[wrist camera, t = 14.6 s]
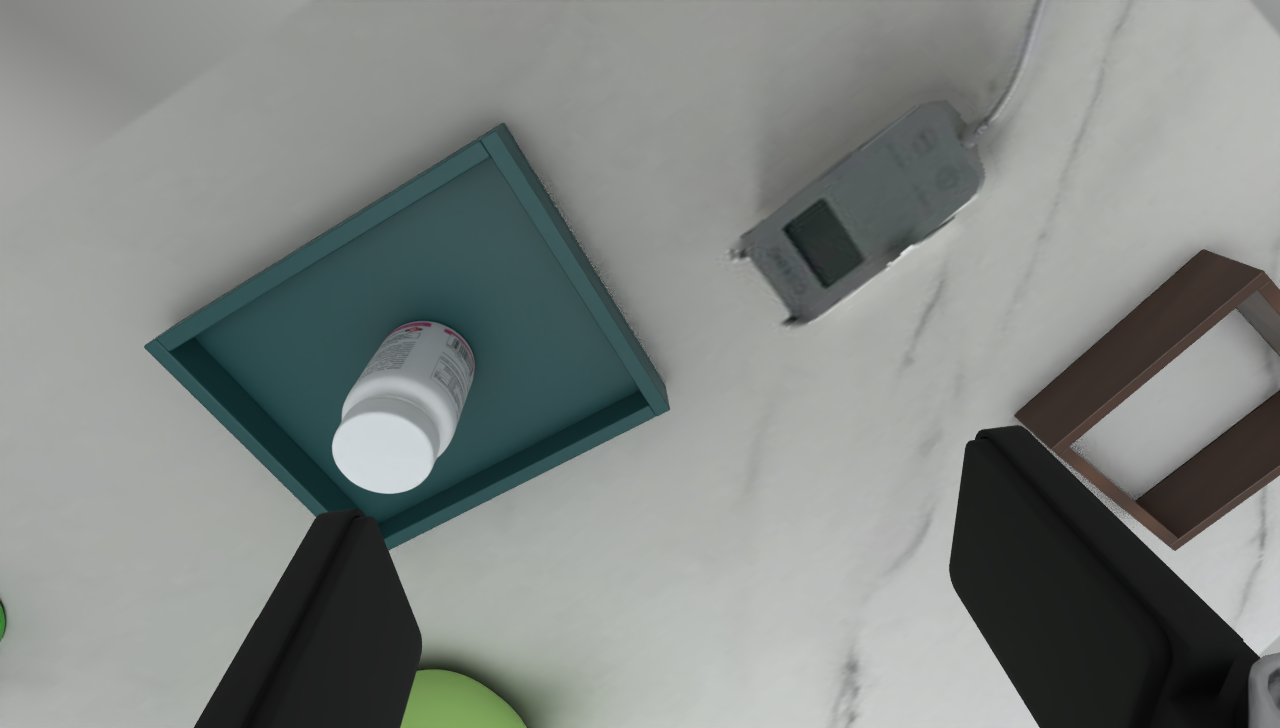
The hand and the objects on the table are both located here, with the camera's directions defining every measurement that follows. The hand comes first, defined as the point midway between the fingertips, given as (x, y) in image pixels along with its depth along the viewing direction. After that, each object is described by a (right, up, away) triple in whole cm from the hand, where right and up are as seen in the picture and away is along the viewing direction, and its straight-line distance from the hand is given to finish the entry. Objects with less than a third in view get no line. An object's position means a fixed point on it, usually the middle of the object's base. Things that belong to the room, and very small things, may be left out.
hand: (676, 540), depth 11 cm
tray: (-12, +3, +24) cm, 27 cm away
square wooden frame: (+30, +1, +28) cm, 41 cm away
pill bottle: (-11, +3, +24) cm, 26 cm away
